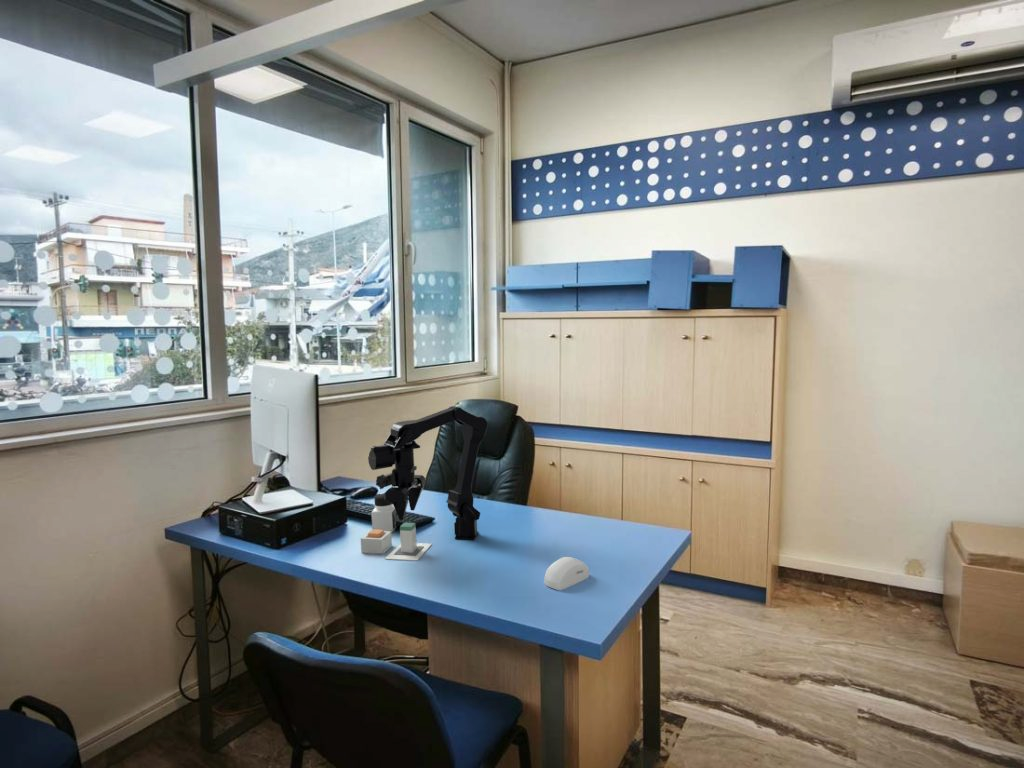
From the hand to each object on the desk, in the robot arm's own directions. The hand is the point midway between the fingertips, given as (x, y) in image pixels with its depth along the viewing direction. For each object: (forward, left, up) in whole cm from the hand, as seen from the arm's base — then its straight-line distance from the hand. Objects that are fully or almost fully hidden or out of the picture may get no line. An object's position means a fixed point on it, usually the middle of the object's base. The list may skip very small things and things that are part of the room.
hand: (407, 514), depth 185 cm
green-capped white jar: (0, 0, -11) cm, 11 cm away
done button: (+11, -1, -8) cm, 14 cm away
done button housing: (+11, -1, -12) cm, 16 cm away
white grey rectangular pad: (0, 0, -12) cm, 12 cm away
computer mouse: (-50, +14, -12) cm, 53 cm away
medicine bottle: (+16, -19, -12) cm, 28 cm away
